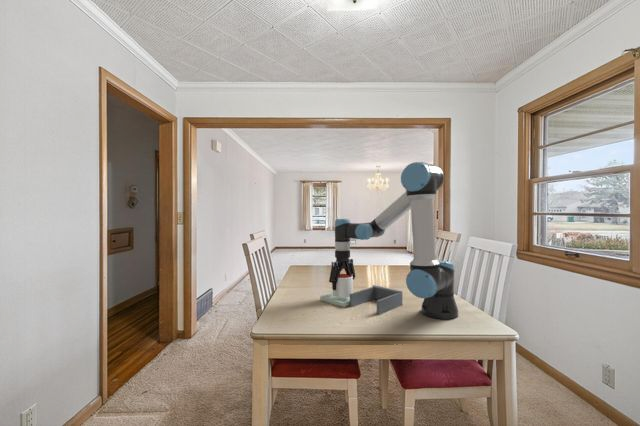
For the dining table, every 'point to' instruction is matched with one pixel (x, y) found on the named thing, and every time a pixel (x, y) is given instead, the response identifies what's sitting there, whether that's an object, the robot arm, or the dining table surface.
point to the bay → (378, 298)
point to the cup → (345, 285)
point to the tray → (335, 300)
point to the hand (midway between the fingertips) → (342, 294)
